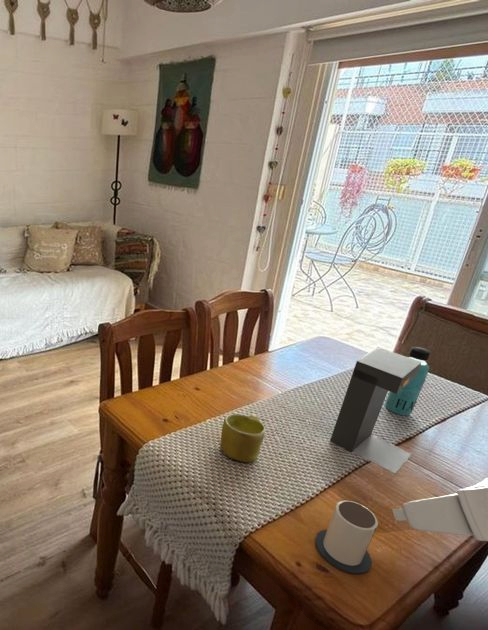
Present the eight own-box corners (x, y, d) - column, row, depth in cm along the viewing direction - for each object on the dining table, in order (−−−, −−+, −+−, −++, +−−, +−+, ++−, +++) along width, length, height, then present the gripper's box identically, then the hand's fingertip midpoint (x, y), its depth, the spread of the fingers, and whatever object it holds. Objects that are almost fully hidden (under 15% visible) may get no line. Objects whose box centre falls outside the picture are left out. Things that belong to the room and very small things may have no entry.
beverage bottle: (387, 417, 120) (413, 353, 112) (378, 404, 126) (401, 342, 118) (414, 422, 118) (442, 357, 110) (404, 407, 124) (429, 345, 116)
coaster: (382, 571, 78) (383, 569, 78) (337, 577, 77) (338, 575, 76) (345, 528, 86) (346, 526, 86) (304, 533, 85) (305, 532, 85)
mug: (249, 470, 97) (250, 426, 97) (210, 456, 106) (211, 415, 105) (279, 459, 104) (280, 417, 104) (240, 446, 113) (241, 408, 112)
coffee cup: (371, 563, 79) (387, 527, 75) (339, 567, 78) (354, 531, 74) (345, 533, 85) (359, 497, 81) (315, 537, 84) (328, 501, 80)
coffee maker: (411, 457, 106) (449, 371, 96) (392, 478, 99) (431, 389, 89) (349, 427, 116) (377, 346, 106) (328, 444, 109) (356, 360, 99)
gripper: (548, 482, 66) (449, 488, 77) (460, 489, 59) (366, 495, 71) (570, 528, 63) (464, 528, 75) (481, 542, 56) (380, 539, 68)
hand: (416, 512), depth 73 cm, fingers open, 8 cm apart
